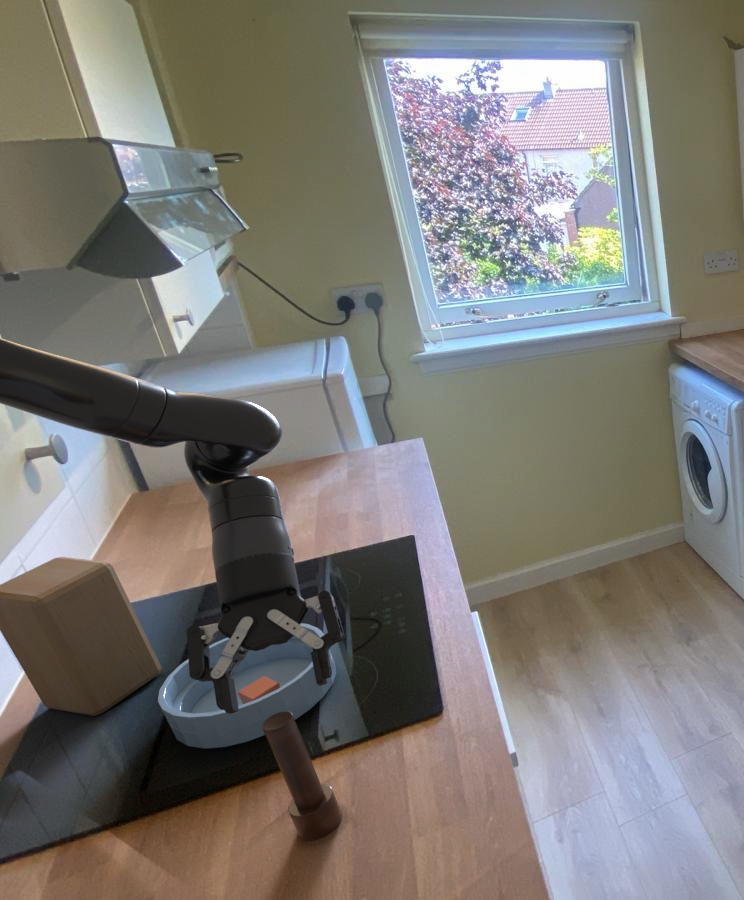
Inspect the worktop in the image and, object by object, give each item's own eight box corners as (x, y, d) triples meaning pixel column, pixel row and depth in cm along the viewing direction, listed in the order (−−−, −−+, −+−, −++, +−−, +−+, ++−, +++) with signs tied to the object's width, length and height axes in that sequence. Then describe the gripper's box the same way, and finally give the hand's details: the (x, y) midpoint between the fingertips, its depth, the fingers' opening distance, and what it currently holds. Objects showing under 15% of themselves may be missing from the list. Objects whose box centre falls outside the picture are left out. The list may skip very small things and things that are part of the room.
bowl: (195, 776, 93) (177, 740, 90) (159, 705, 104) (143, 672, 102) (358, 691, 106) (346, 658, 104) (310, 637, 118) (299, 606, 115)
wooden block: (115, 663, 113) (58, 553, 105) (167, 671, 111) (113, 559, 103) (42, 710, 104) (-27, 594, 96) (98, 719, 102) (32, 601, 94)
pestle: (306, 848, 83) (260, 742, 76) (293, 826, 86) (247, 722, 79) (348, 821, 86) (307, 718, 79) (334, 801, 89) (293, 699, 82)
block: (261, 718, 101) (252, 699, 99) (245, 711, 102) (237, 691, 101) (286, 702, 104) (278, 682, 102) (271, 694, 105) (263, 675, 104)
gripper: (166, 572, 80) (186, 719, 76) (317, 537, 86) (344, 670, 82) (192, 589, 86) (212, 725, 82) (331, 554, 93) (357, 679, 88)
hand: (278, 697), depth 82 cm, fingers open, 8 cm apart
